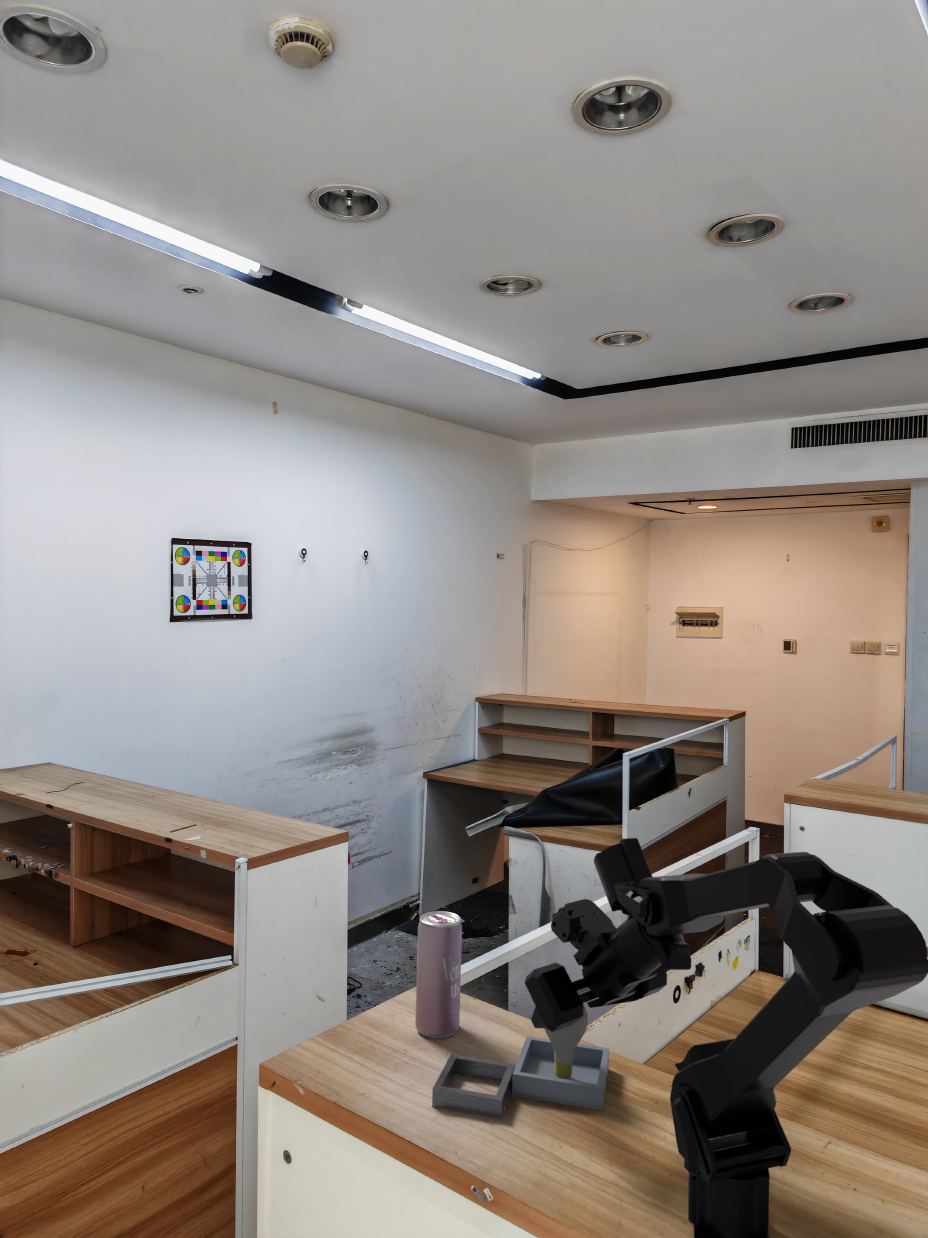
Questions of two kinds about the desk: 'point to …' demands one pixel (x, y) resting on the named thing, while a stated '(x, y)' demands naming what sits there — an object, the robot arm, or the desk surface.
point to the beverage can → (438, 974)
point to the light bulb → (566, 1045)
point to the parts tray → (542, 1084)
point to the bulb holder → (469, 1099)
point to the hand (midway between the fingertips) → (561, 1013)
